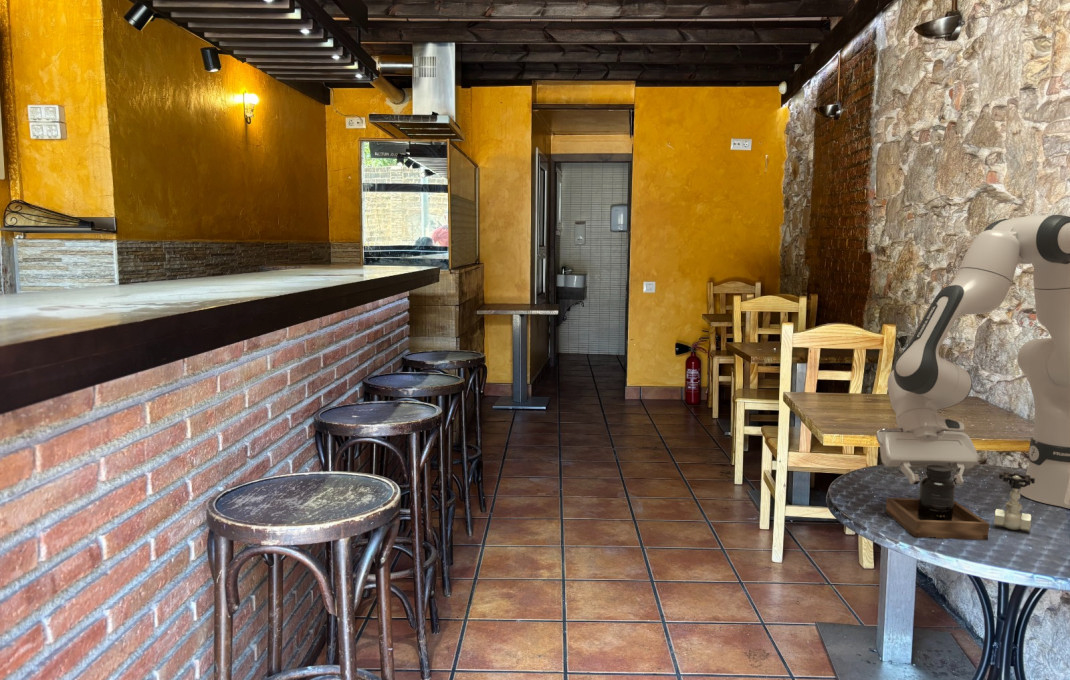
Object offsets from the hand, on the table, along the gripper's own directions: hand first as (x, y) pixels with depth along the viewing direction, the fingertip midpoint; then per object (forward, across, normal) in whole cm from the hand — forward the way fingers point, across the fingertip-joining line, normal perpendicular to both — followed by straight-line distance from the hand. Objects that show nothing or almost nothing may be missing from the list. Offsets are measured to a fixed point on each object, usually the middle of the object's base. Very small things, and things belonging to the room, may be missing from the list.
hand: (937, 483), depth 167 cm
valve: (+8, +16, +6) cm, 19 cm away
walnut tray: (+7, 0, +6) cm, 9 cm away
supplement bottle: (+6, 0, +6) cm, 8 cm away
